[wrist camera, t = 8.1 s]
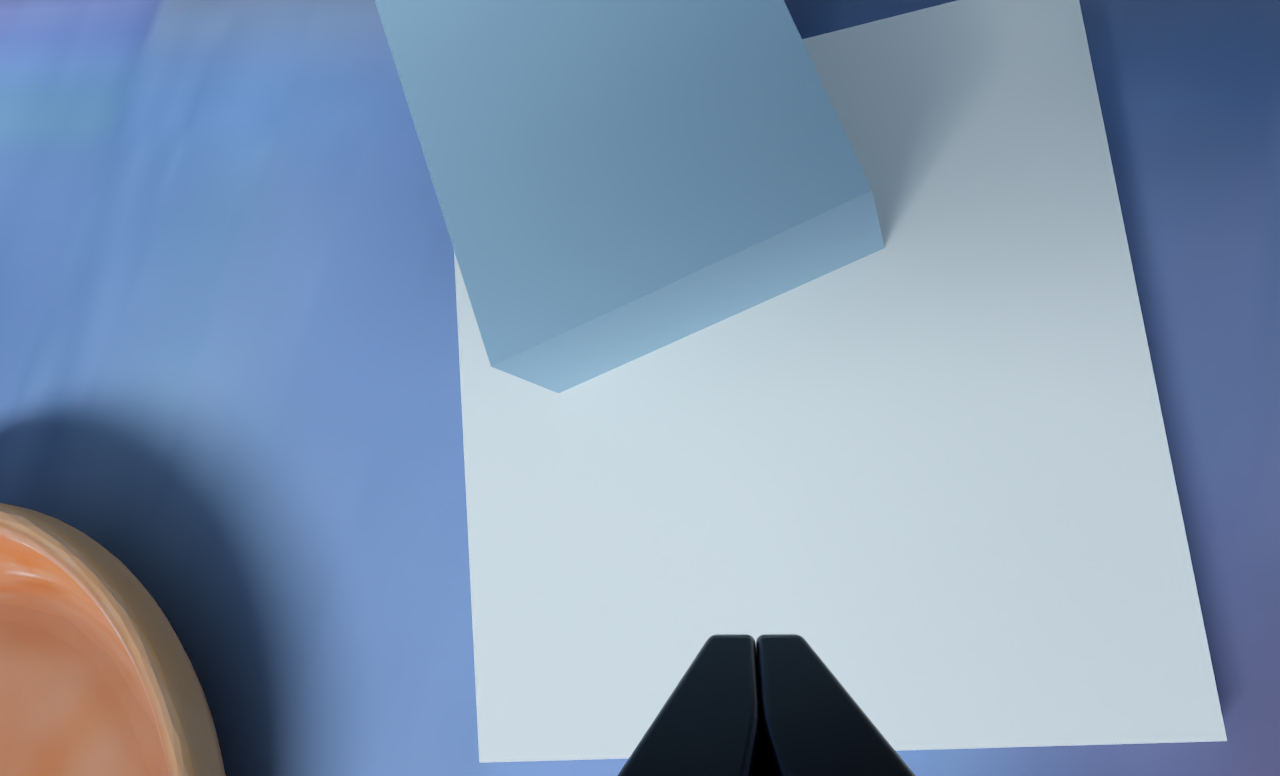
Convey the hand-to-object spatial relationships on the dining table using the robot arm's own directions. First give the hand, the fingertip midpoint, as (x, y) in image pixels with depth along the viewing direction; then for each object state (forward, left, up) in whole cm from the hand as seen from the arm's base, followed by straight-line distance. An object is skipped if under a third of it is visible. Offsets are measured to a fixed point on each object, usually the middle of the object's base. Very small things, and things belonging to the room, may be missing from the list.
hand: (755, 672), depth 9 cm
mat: (+4, +1, -9) cm, 10 cm away
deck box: (+6, +2, -7) cm, 9 cm away
